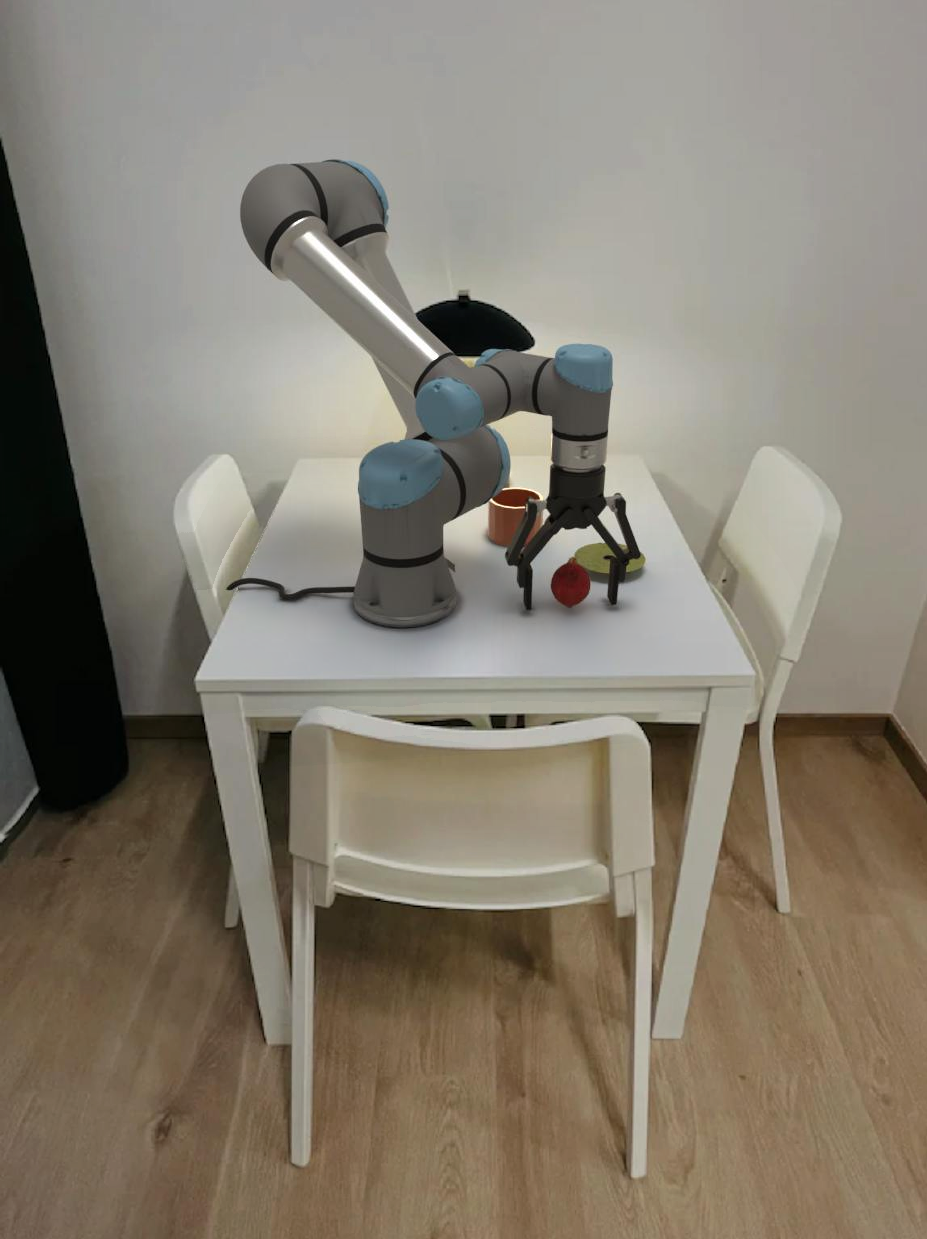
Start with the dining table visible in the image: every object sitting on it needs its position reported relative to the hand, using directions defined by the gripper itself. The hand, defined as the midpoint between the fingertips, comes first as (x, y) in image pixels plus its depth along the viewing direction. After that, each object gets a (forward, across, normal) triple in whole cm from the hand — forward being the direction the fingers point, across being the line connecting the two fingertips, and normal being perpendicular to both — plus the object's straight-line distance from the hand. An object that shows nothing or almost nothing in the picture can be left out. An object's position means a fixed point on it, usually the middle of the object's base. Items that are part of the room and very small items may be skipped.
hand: (569, 603), depth 135 cm
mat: (+1, +9, +12) cm, 15 cm away
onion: (+1, 0, 0) cm, 1 cm away
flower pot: (+1, -4, +26) cm, 26 cm away
